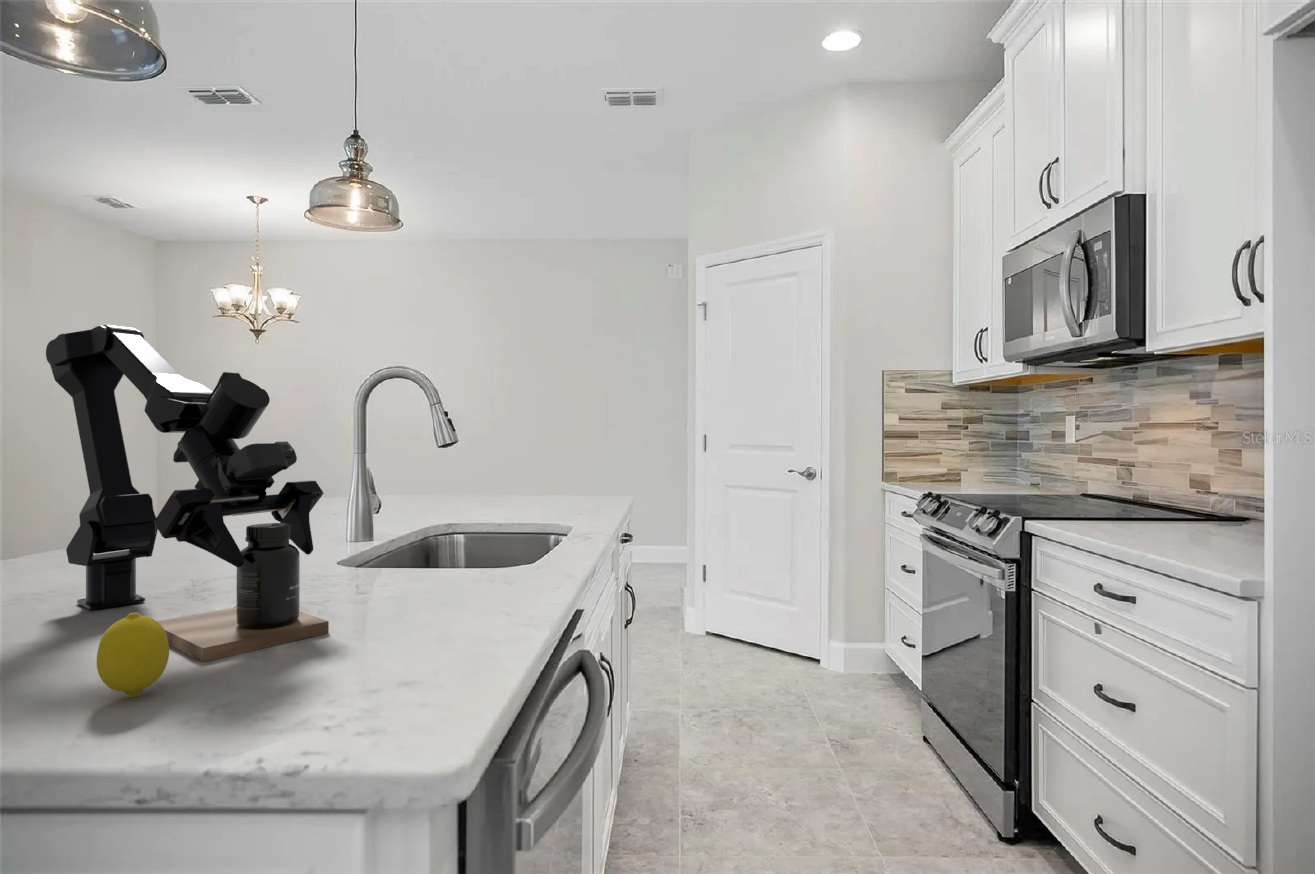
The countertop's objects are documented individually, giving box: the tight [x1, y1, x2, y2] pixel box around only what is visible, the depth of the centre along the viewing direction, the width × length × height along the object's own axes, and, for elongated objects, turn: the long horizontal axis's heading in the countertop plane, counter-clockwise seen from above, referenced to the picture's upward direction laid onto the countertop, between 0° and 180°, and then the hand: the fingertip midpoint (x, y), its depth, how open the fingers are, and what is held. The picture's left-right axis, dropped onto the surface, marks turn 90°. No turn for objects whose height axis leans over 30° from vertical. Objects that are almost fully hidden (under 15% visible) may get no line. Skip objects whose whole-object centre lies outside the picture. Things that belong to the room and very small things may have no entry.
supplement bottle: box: [235, 522, 301, 629], centre depth 88 cm, size 7×7×12 cm
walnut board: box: [156, 606, 330, 663], centre depth 88 cm, size 16×14×2 cm
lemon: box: [96, 612, 170, 698], centre depth 68 cm, size 6×6×8 cm
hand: (277, 558), depth 87 cm, fingers open, 9 cm apart
